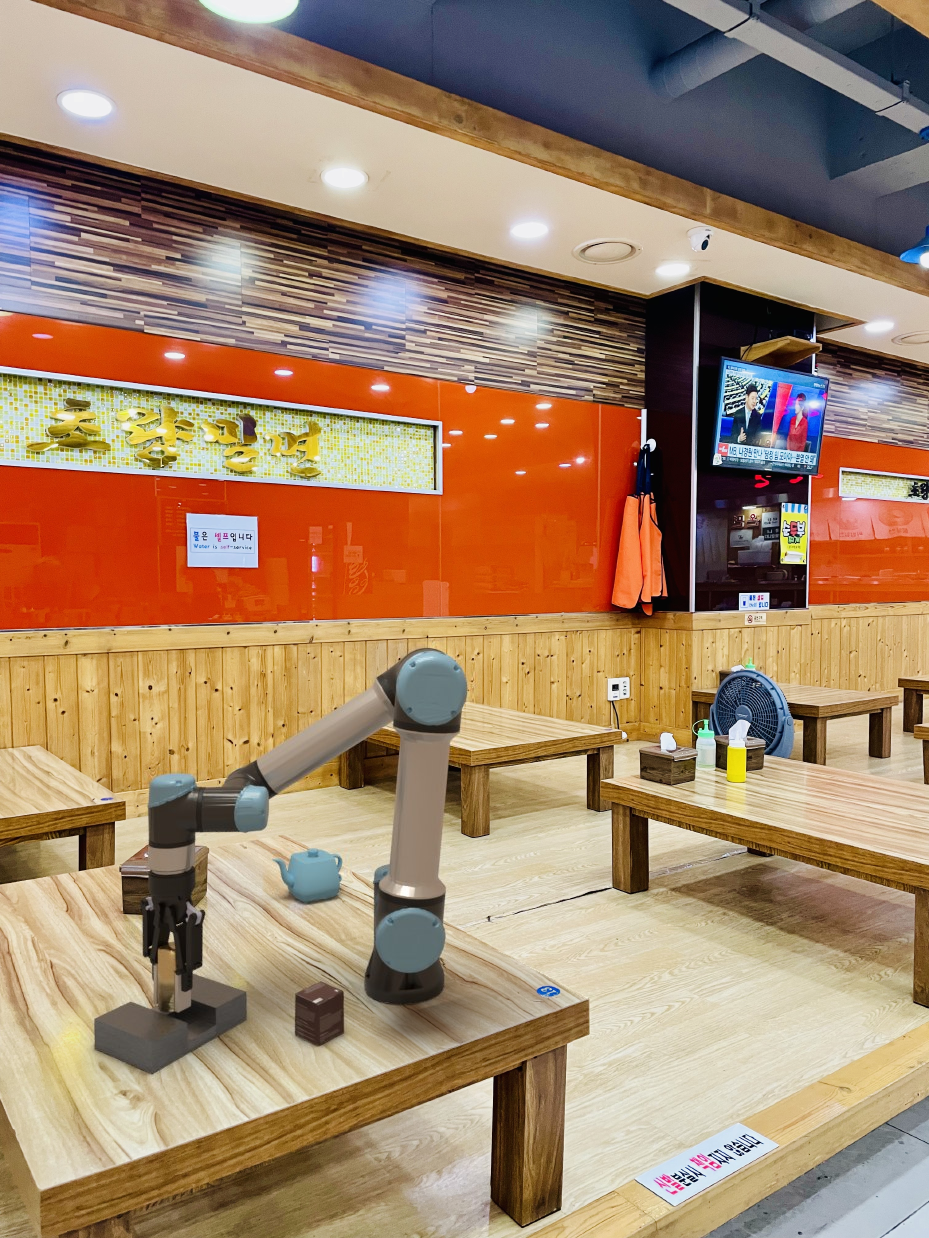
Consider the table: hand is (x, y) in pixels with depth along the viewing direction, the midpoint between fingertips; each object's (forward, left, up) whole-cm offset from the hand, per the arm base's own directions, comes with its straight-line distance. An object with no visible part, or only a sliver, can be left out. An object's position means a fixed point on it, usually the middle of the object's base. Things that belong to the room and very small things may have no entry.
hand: (172, 1004), depth 147 cm
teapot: (+25, -62, -5) cm, 67 cm away
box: (-21, -13, -5) cm, 25 cm away
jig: (0, 0, -5) cm, 5 cm away
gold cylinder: (0, 0, 0) cm, 0 cm away
